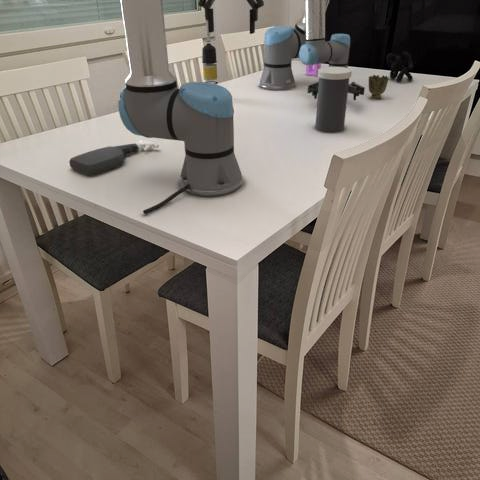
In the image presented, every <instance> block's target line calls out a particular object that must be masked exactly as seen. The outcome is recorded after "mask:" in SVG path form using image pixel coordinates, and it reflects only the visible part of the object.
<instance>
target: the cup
mask: <svg viewBox="0 0 480 480" xmlns="http://www.w3.org/2000/svg"><path fill="white" fill-rule="evenodd" d="M389 78H390V76H389V77H388V75H385V74H383V75H381V76H380V74H377V75H376V74H373V75H369V76H368V91H369V93H370V94H371V95H370V96H371V99H380V98H381V97H382V94H384V93H385V91H386V89H387V86H388V82H389Z"/></svg>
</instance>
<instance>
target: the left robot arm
mask: <svg viewBox="0 0 480 480" xmlns="http://www.w3.org/2000/svg"><path fill="white" fill-rule="evenodd" d="M214 2H216V0H199V1H198V6H199V7H201V8H203V9H204V18H205V21H206V20H208V31H209V33H210V34H212V33H214V32H215V20H214V8H212V5H213V4H214ZM246 2H247V3H248V5H249V6H250V7H251V8H250V9H249V34H250V35H253V34H255V33H256V22H258V20H259V9H261V8H262V7H264V6H265V2H264V0H246ZM120 6H121V13H122V20H123V21H122V22H123V26H124V34H125V41H126V48H127V49H126V50H127V56H128V63H129V69H130V70H129V71H130V73H129V75H128V76H127V77H126V79H125V82H124V83H125V86H124V87H123V88H122V89H121V90H120V92H119V99H118V101H117V102H118V103H117V104H118V105H117V108H118V114H119V117H120V120H121V122H122V124H123V125H124V127H125V128H126V130H128V131H129V132H130V133H131V134H133V135H136V136H140V137H144V138H147V139H159V140H160V139H163V140H169V141H170V140H171V141H180V142H183V143H184V154H185V155H184V158H183V164H182V168H181V171H180V177H179V178H180V179H179V183H180V184H179V185H180V188H179V189H178V190H176V191H175V192H174V193H172V194H170V195H169V196H168V197H167V198H165V199H164V200H162V201H160V202H158V203H157V204H155V205H152V206H150V207H148V208H146V209H143V210H142V213H143V214H144V215H147V214H149V213H152V212H153V211H156V210H158V209H160V208H162V207H164V206H166V205H167V204H169V203H170V202H172V200H174V199H175V198H177V197H178V196H180V195H181V194H182V193H184V192H186V193H187V194H190V195H194V196H199V197H221V196H224V195H229V194H232V193H234V192H235V191H237V190H239V189H240V188H241V187H242V185H243V174H242V171H241V168H240V165H239V163H238V160H237V157H236V154H235V132H234V131H235V129H234V127H235V126H234V122H235V121H234V114H235V109H234V103H233V96H232V93H231V91H230V90H228V89H227V88H226V87H224V86H222V85H220V84H218V83H217V84H215V83H214V82H207V81H199V82H198V81H189V82H185V83H183V84H181V86H180V87H179V88H178V82H177V81H178V79H177V77H176V76H175V75H174V74H173V73H172V72H171V71H170V65H169V56H168V45H167V35H166V25H165V24H166V23H165V16H164V6H163V0H120Z"/></svg>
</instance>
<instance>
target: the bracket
mask: <svg viewBox="0 0 480 480" xmlns="http://www.w3.org/2000/svg"><path fill="white" fill-rule="evenodd" d="M305 66H306V67H305V69H306V70H305V71H306V72H305V75H308V76H312V77H313V76H314V77H315V76H316V77H318V69H320V68H323V67H324V66H322V63H319V64H315V65H305Z"/></svg>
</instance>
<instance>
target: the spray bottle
mask: <svg viewBox="0 0 480 480" xmlns="http://www.w3.org/2000/svg"><path fill="white" fill-rule="evenodd" d="M159 148H160V145H159V144H158V143H155V142H151V141H148V140H144V139H139V140H138V141H137V142H135V143H129V144H128V143H126V144H122V145H113V146H105V147H100V148H97V149H94V150H90V151H87V152H83V153H81V154H78V155H74V156H73V157H70V159H69V161H68V162H69V167H70V168H71V169H72V170H74V171H75V172H78V173H81V174H83V175H85V176H89V177H90V176H91V177H92V176H95V175H99V174H102V173H105V172H107V171H110V170H113V169H116V168H118V167H120V166H122V165H123V164H124V163H125V158H126V156H127V155H131V154H133V153H138V151H140V150H143V151H144V152H146V151H147V150H149V149H159Z"/></svg>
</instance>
